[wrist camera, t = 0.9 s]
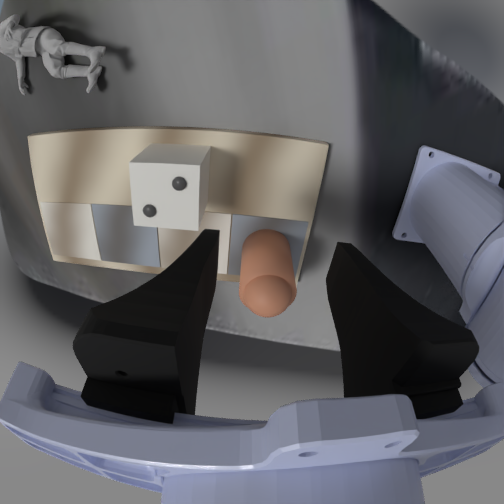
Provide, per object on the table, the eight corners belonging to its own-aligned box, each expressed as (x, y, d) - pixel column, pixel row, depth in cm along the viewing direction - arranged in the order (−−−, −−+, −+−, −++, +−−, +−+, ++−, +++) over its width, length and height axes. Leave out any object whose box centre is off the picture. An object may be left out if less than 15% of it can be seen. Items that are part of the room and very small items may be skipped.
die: (210, 145, 18) (199, 166, 15) (207, 201, 21) (198, 231, 17) (151, 143, 18) (128, 162, 15) (152, 197, 20) (133, 226, 17)
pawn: (294, 231, 22) (305, 290, 17) (285, 270, 24) (292, 331, 19) (244, 226, 22) (240, 285, 16) (240, 266, 24) (235, 327, 18)
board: (326, 142, 19) (329, 145, 18) (295, 280, 26) (296, 287, 25) (33, 133, 18) (27, 136, 17) (57, 255, 25) (53, 260, 24)
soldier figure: (90, 114, 18) (-30, 97, 13) (110, 66, 19) (-5, 51, 13) (96, 53, 12) (-57, 43, 6) (127, 2, 12) (-17, -8, 6)
